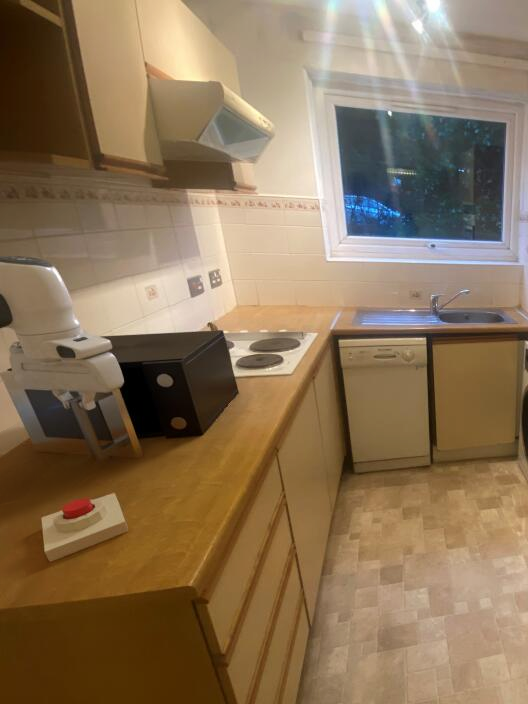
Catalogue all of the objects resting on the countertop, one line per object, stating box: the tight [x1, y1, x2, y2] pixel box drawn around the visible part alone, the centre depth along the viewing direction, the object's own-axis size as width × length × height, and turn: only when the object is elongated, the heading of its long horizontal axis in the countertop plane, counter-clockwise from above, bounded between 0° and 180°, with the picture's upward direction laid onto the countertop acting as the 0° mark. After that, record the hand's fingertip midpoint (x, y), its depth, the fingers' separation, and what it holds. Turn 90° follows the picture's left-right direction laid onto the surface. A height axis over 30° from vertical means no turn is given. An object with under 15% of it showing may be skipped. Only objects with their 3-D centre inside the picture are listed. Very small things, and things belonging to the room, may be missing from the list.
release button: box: [61, 498, 93, 519], centre depth 76 cm, size 4×4×2 cm
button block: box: [40, 492, 129, 563], centre depth 76 cm, size 12×10×4 cm
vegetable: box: [206, 321, 233, 365], centre depth 139 cm, size 4×4×20 cm
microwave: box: [6, 329, 240, 440], centre depth 113 cm, size 28×34×20 cm
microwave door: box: [0, 370, 144, 462], centre depth 94 cm, size 8×26×20 cm, turn 85°
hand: (81, 408), depth 89 cm, fingers closed
